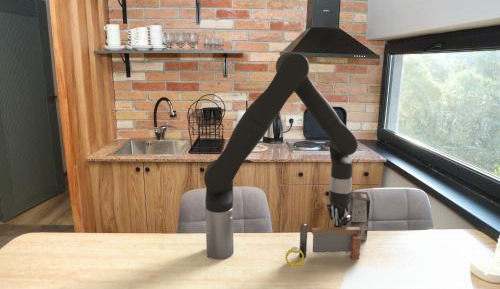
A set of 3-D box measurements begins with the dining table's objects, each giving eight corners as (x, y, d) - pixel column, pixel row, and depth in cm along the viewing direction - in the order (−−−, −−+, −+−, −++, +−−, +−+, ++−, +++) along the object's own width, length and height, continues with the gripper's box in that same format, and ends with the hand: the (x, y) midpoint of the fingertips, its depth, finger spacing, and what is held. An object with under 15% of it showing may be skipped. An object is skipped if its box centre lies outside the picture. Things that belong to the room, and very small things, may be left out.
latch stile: (352, 259, 117) (353, 238, 115) (350, 256, 119) (351, 235, 117) (359, 259, 117) (361, 238, 115) (357, 256, 119) (358, 235, 117)
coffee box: (367, 240, 129) (370, 200, 125) (349, 239, 130) (352, 199, 127) (364, 229, 138) (367, 191, 134) (347, 228, 139) (350, 190, 135)
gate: (312, 253, 118) (313, 230, 116) (310, 250, 120) (311, 228, 118) (358, 252, 119) (360, 229, 117) (356, 248, 121) (358, 226, 119)
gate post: (300, 258, 118) (301, 225, 115) (298, 254, 120) (299, 222, 117) (306, 257, 118) (308, 225, 115) (305, 254, 120) (306, 222, 117)
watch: (302, 263, 115) (304, 247, 114) (303, 267, 113) (305, 251, 111) (284, 262, 115) (286, 246, 114) (285, 266, 113) (287, 250, 111)
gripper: (321, 183, 125) (318, 227, 129) (342, 196, 113) (338, 244, 117) (338, 181, 128) (335, 224, 132) (361, 194, 116) (357, 240, 120)
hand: (337, 233), depth 124 cm, fingers closed
